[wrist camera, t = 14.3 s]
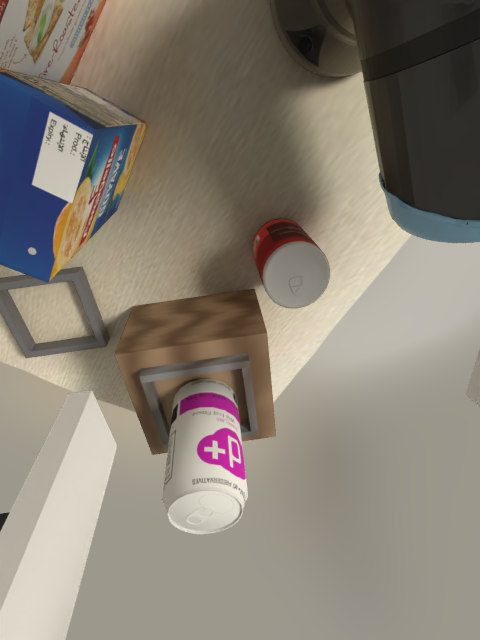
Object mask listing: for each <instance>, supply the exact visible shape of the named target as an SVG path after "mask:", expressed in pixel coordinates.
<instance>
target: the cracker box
mask: <svg viewBox="0 0 480 640" xmlns="http://www.w3.org/2000/svg"><path fill="white" fill-rule="evenodd" d="M105 2H106V0H0V68H3V69H7V70H11V71H15V72H19V73H24V74H28V75H32V76H36V77H40V78H44V79H49V80H53V81H57V82H61V83H65V84H70V81H71V79H72V77H73V75H74V72H75V70H76V68H77V66H78V63H79V61H80V59H81V56H82V54H83V52H84V50H85V47H86V45H87V43H88V41H89V38H90V36H91V34H92V32H93V29H94V27H95V25H96V23H97V20H98V18H99V16H100V14H101V11H102V9H103V7H104V5H105Z"/></svg>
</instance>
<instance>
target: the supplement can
mask: <svg viewBox="0 0 480 640" xmlns="http://www.w3.org/2000/svg"><path fill="white" fill-rule="evenodd" d="M247 497H248V493H247V483H246V474H245V465H244V457H243V448H242V439H241V430H240V421H239V412H238V404H237V396H236V394H235V393H234V391H233V390H232V388H231V387H229V386H228V385H226V384H225V383H223V382H221V381H217V380H214V379H199V380H196V381H192V382H189V383H187V384H186V385H184V386H183V387H181V388H180V389H179V391H178V392H177V393H176V395H175V397H174V402H173V409H172V418H171V427H170V436H169V444H168V454H167V462H166V471H165V480H164V489H163V499H162V500H163V503H164V505H165V508H166V510H167V512H168V518H169V521H170V523H172V524H173V525H174V526H175V527H176V528H177V529H180V530H183V531H185V532H188V533H195V534H211V533H215V532H219V531H223V530H225V529H227V528H229V527H231V526H233V525H234V524H235V523H236V522H237V521H239V520H240V518H241V516H242V513H243V507H244V505H245V502H246V500H247Z"/></svg>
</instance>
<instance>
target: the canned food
mask: <svg viewBox="0 0 480 640" xmlns="http://www.w3.org/2000/svg"><path fill="white" fill-rule="evenodd" d="M252 250H253V256H254V259H255V262H256V265H257V268H258V271H259V274H260V277H261V280H262V283H263V286H264V288H265V291H266V292H267V294H268V295H269V297H270V298H271V299H272V300H273V301H274V302H275V303H277V304H278V305H280V306H283V307H286V308H301V307H305V306H307V305H309V304H311V303H313V302H315V301H316V300H317V299H318V298H319V297H320V296H321V295H322V294H323V293H324V291H325V289H326V288H327V285H328V283H329V278H330V267H329V263H328V260H327V258H326V256H325V255H324V253H323V252H322V251H321V249H320V248H319V247H318V246H317V245H316V243H315V242H314V241H313V240H312V239H311V238H310V237H309V236H308V235H307V233H306V232H305V231H304V230H303V229H302V228H301V227H300V226H299V225H298V224H297V223H295V222H293V221H291V220H287V219H277V220H273V221H270V222H268V223H267V224H265V225H264V226H263V227H262V228H261V229H260V230H259V231H258V233H257V234H256V236H255V238H254V242H253V249H252Z"/></svg>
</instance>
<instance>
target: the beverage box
mask: <svg viewBox="0 0 480 640" xmlns="http://www.w3.org/2000/svg"><path fill="white" fill-rule="evenodd" d="M147 126H148V124H147V123H145V122H144V121H142V120H140V119H138V118H137V117H135V116H133V115H131V114H130V113H128V112H126V111H125V110H123V109H121V108H119V107H118V106H116V105H114V104H112V103H111V102H109V101H107V100H106V99H104V98H102V97H100V96H99V95H97V94H95V93H93V92H92V91H90V90H88V89H86V88H82V87H78V86H73V85H69V84H65V83H61V82H57V81H53V80H49V79H44V78H40V77H36V76H32V75H28V74H24V73H19V72H15V71H11V70H7V69H3V68H0V264H1V265H3V266H6V267H8V268H11V269H13V270H16V271H19V272H21V273H24V274H26V275H29V276H31V277H34V278H36V279H39V280H42V281H44V282H47V283H49V281H50V280H51V279H52V278H53V277H54V276H55V275H56V274H57V273H58V272H59V271H60V270H61V269H62V268H63V266H64V265H65V264H66V263H67V262H68V261H69V260H70V259H71V258H72V257H73V256H74V255H75V254H76V253H77V252H78V251H79V250H80V249H81V247H82V246H83V245H84V244H85V243H86V242H87V241H88V240H89V239H90V238H91V237H92V236H93V235H94V234H95V233H96V232H97V231H98V230H99V228H100V227H101V226H102V225H103V224H104V223H105V222H106V221H107V220H108V219H109V218H110V217H111V216H112V215H113V214H114V213H115V212H116V211H117V208H118V205H119V202H120V200H121V197H122V194H123V192H124V189H125V186H126V183H127V181H128V178H129V175H130V172H131V170H132V167H133V164H134V162H135V159H136V156H137V153H138V151H139V148H140V145H141V142H142V140H143V137H144V134H145V131H146V129H147Z"/></svg>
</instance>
